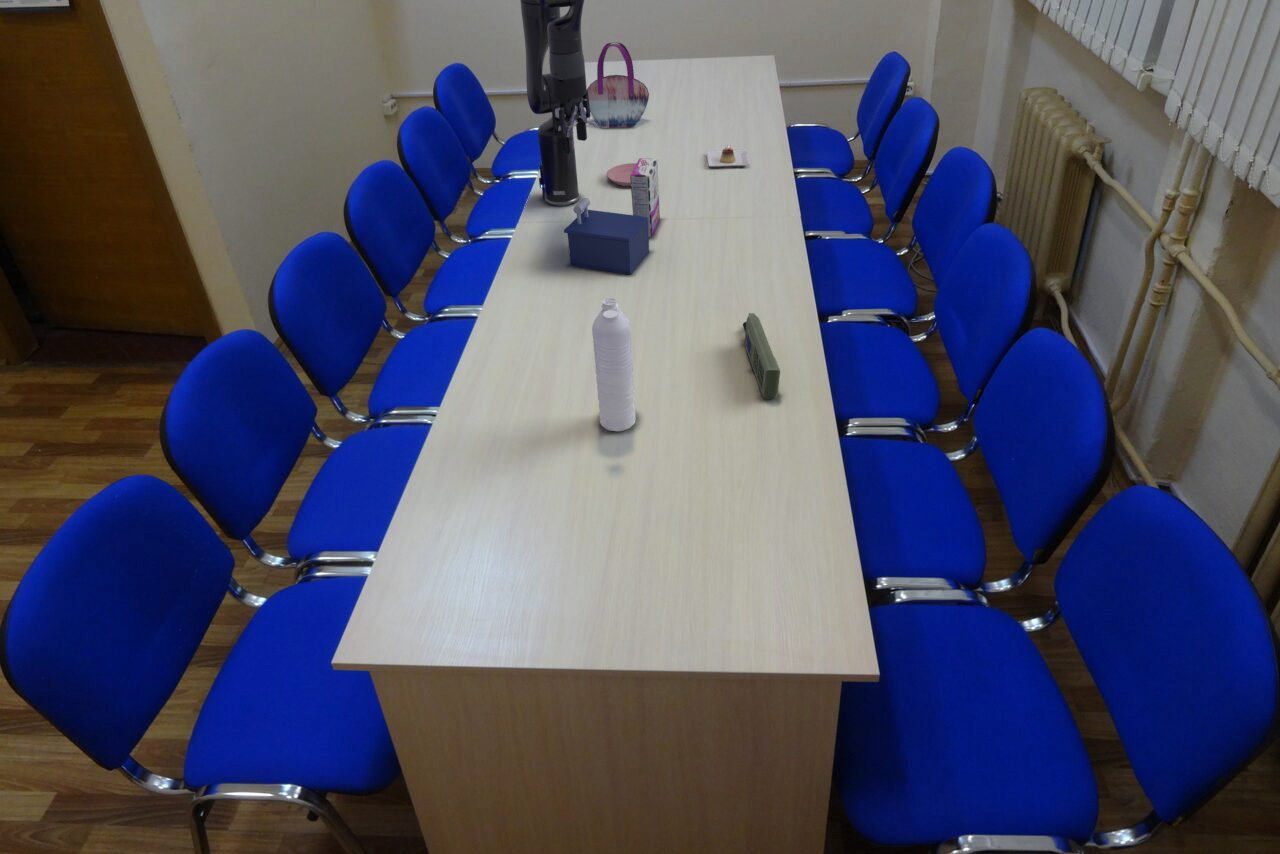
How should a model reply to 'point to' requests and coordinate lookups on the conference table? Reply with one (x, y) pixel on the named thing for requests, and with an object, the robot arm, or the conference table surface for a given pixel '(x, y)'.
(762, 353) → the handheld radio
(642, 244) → the case
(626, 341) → the water bottle
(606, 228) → the case lid
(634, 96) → the handbag
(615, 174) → the plate
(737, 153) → the dessert
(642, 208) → the candy bar box
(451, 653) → the conference table surface
